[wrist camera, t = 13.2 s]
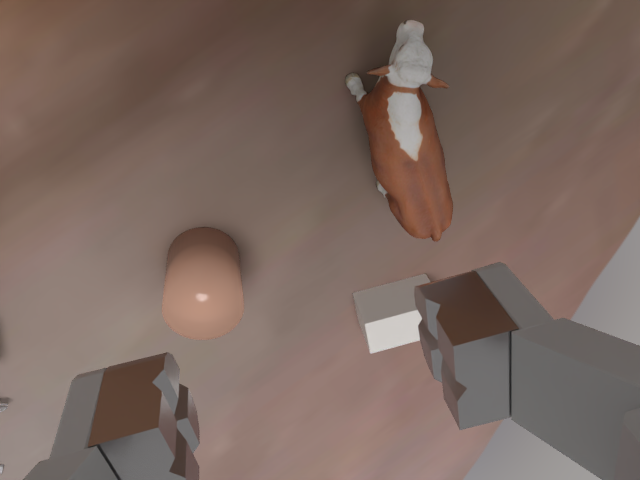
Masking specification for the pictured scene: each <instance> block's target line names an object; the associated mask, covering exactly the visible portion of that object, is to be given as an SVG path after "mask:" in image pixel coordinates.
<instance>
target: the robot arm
mask: <svg viewBox="0 0 640 480" xmlns="http://www.w3.org/2000/svg"><path fill="white" fill-rule="evenodd" d="M414 297H415V306H416V308H417V310H418V311H419V313H420V315H421V317H422V320H421V321H420V323H419V325H418V330H419V336H420V342H421V346H422V349H423V353H424V357H425V359H426V362H427V364H428V367H429V369H430V371H431V373H432V375H433V377H434V379H436V380H438V381H440V382H441V383H442V385H443V394H444V400H445V402H446V404H447V406H448V408H449V409H450V411H451V413H452V415H453V417H454V419H455V421H456V423H457V425H458V427H459V429H460V430H462V429H466V428H470V427H474V426H478V425H482V424H486V423H490V422H494V421H498V420H502V419H506V418H509V417H512V420H513V421H514V422H516V423H517V424H519V425H520V426H522V427H524V428H525V429H526V430H528V431H529V432H531V433H532V434H534V435H535V436H537V437H538V438H540V439H541V440H543V441H544V442H546V443H547V444H549V445H550V446H552V447H553V448H555V449H557V450H558V451H559V452H561V453H562V454H564V455H566V456H567V457H569V458H570V459H572V460H573V461H575V462H576V463H578V464H579V465H581V466H582V467H584V468H585V469H587V470H588V471H590V472H591V473H593V474H594V475H596V476H597V477H599V478H600V479H602V480H640V346H639V345H636V344H633V343H631V342H628V341H625V340H622V339H620V338H617V337H614V336H611V335H609V334H606V333H603V332H600V331H598V330H595V329H593V328H590V327H587V326H584V325H582V324H579V323H576V322H573V321H571V320H568V319H565V318H560V319H557V320H554V319H553V318H552V317H551V316H550V314H549V313H548V312H547V311H546V310H545V309H544V308H543V306H542V305H541V304H540V303H539V302H538V301H537V300H536V298H535V297H534V296H533V295H532V294H531V293H530V292H529V291H528V289H527V288H526V287H525V286H524V285H523V284H522V283H521V281H520V280H519V279H518V278H517V277H516V276H515V275H514V274H513V272H512V271H511V270H510V269H509V268H508V267H507V266H506V264H504V263H501V262H498V263H494V264H491V265H488V266H484V267H481V268H477V269H474V270H472V271H471V272H466V273H463V274H459V275H455V276H452V277H448V278H444V279H441V280H437V281H433V282H430V283H426V284H422V285H419V286H415V289H414ZM179 373H180V369H179V367H178V365H177V363H176V361H175V359H174V357H173V355H172V354H170V353H168V352H167V353H163V354H159V355H155V356H151V357H147V358H143V359H138V360H134V361H130V362H126V363H122V364H118V365H114V366H110V367H108V368H103V369H99V370H95V371H91V372H87V373H83V374H79V375H77V376H76V377H75V378H74V379H73V380H72V382H71V385H70V389H69V392H68V396H67V399H66V403H65V406H64V409H63V413H62V416H61V420H60V423H59V427H58V430H57V434H56V437H55V440H54V444H53V447H52V451H51V454H50V458H49V459H47V460H44V461H40V462H39V463H38V464H37V465H36V466H35V467H34V468H33V469H32V470H31V471H30V472H29V474H28V475H27V476H26V477H25V478H24V479H23V480H199V465H198V463H197V461H196V459H195V457H194V455H193V453H194V451H195V450H196V448H197V447H198V445H199V444H200V441H199V423H198V416H197V411H196V407H195V404H194V401H193V398H192V395H191V393H190V391H189V389H188V388H187V387H185V386H183V385H181V384H179Z"/></svg>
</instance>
